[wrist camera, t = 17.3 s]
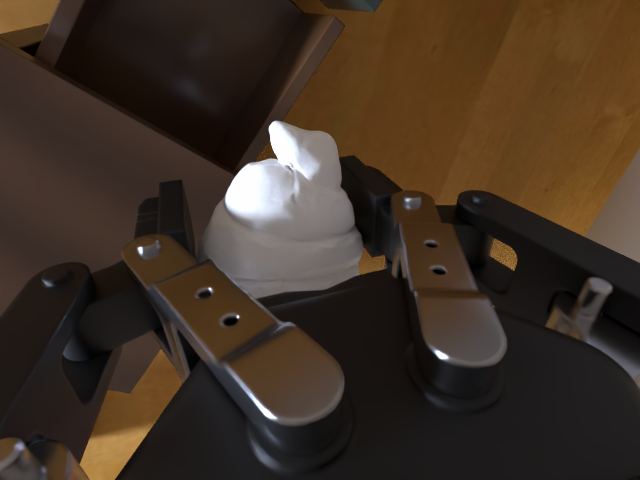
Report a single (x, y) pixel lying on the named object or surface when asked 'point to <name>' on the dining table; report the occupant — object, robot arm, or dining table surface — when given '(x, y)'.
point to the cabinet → (83, 179)
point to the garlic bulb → (286, 219)
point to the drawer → (196, 63)
